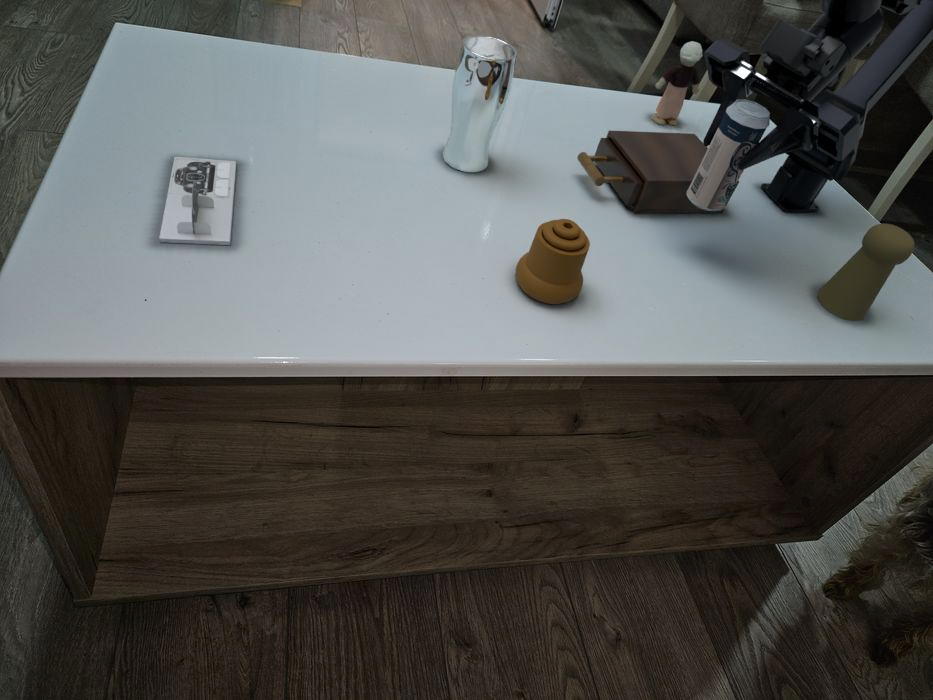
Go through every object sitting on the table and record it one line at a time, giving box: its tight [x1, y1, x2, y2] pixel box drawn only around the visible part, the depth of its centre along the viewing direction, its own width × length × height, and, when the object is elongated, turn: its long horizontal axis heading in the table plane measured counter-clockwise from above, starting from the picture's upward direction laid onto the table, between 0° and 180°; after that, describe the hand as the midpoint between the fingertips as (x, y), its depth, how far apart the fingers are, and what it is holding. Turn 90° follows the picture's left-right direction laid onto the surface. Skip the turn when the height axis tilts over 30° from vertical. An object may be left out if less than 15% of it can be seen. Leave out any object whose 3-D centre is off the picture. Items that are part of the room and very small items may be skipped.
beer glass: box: [442, 34, 518, 173], centre depth 86 cm, size 7×7×15 cm
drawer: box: [576, 137, 645, 207], centre depth 93 cm, size 18×11×3 cm, turn 107°
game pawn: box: [816, 222, 915, 322], centre depth 81 cm, size 6×6×11 cm
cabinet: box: [605, 129, 740, 214], centre depth 94 cm, size 14×12×5 cm
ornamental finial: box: [515, 218, 591, 305], centre depth 73 cm, size 8×8×8 cm
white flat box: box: [158, 156, 237, 246], centre depth 72 cm, size 15×7×4 cm, turn 11°
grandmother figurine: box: [651, 40, 704, 126], centre depth 107 cm, size 8×4×13 cm, turn 115°
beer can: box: [686, 99, 771, 211], centre depth 78 cm, size 5×5×12 cm
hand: (721, 155), depth 77 cm, fingers closed on beer can, 5 cm apart
